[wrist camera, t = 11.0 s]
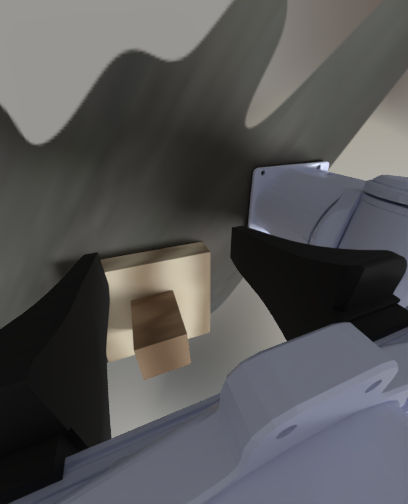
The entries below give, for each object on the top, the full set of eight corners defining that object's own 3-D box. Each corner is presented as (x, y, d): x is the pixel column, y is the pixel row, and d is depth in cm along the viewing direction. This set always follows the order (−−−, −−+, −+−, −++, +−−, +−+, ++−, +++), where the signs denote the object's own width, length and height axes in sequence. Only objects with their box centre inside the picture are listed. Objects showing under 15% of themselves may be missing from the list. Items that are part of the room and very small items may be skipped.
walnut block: (172, 290, 23) (187, 333, 18) (177, 318, 26) (190, 363, 21) (130, 301, 22) (133, 350, 17) (139, 329, 25) (144, 380, 20)
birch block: (201, 239, 25) (210, 252, 22) (203, 316, 32) (210, 332, 29) (78, 260, 21) (72, 278, 19) (110, 341, 28) (109, 362, 26)
